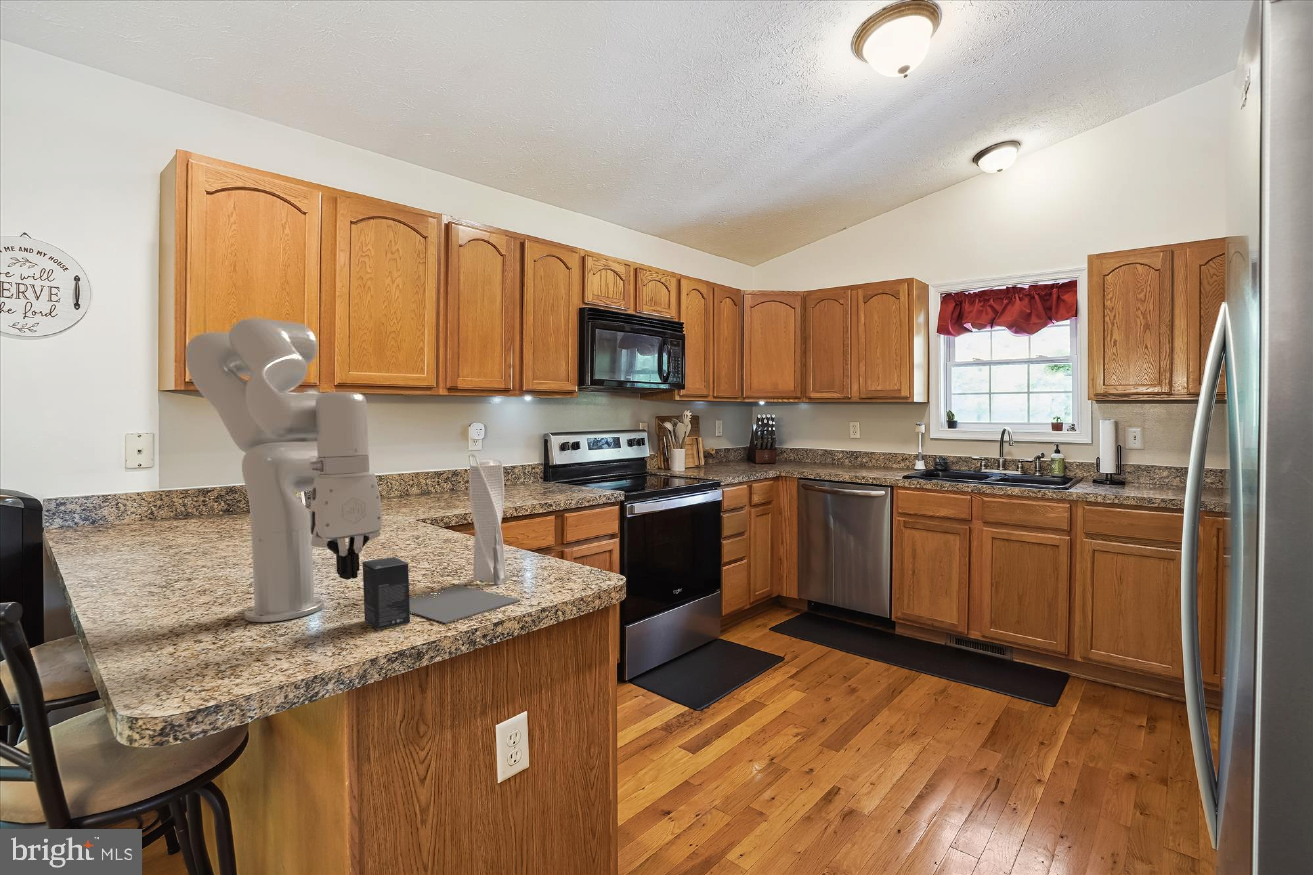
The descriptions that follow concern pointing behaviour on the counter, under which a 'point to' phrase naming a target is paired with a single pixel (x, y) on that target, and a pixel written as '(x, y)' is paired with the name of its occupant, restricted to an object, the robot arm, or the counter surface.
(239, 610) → the counter surface
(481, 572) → the skyscraper
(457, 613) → the mat
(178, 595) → the counter surface
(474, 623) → the counter surface
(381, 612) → the box
